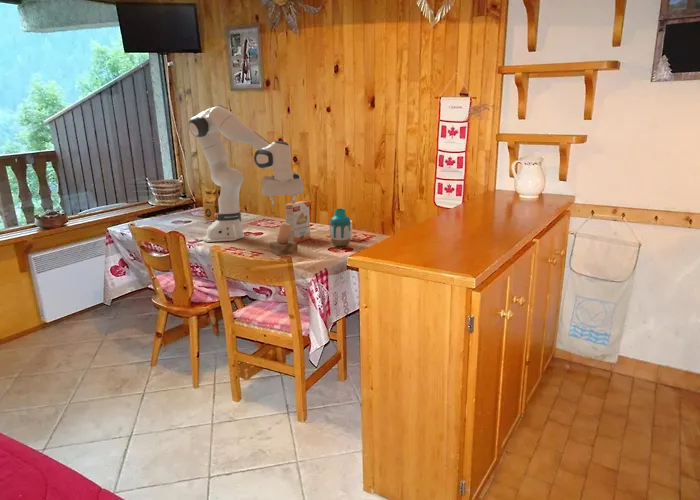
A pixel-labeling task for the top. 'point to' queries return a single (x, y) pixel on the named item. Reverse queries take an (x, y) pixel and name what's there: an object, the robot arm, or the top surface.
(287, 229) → the canister
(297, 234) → the cracker box
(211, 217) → the coffee package
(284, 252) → the walnut block
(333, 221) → the vase
